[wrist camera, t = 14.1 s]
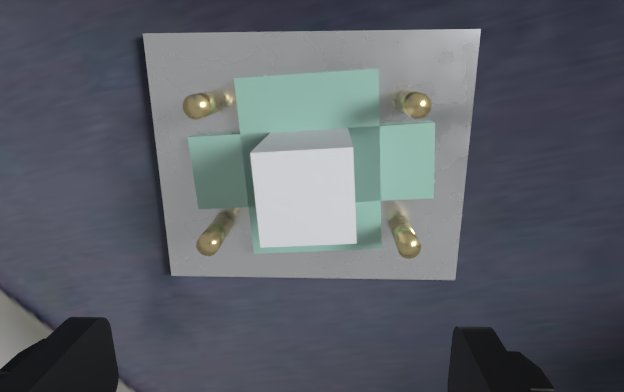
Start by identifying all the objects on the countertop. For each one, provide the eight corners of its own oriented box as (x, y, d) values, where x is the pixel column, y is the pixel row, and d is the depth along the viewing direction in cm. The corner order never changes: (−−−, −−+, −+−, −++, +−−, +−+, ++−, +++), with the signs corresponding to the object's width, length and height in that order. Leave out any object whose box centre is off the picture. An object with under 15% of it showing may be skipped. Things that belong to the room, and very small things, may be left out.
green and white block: (433, 64, 26) (474, 62, 18) (430, 242, 29) (463, 300, 22) (183, 81, 27) (126, 85, 19) (208, 251, 30) (168, 309, 23)
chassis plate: (476, 30, 26) (507, 21, 21) (452, 274, 31) (473, 310, 26) (148, 34, 27) (110, 27, 22) (175, 270, 32) (148, 304, 27)
